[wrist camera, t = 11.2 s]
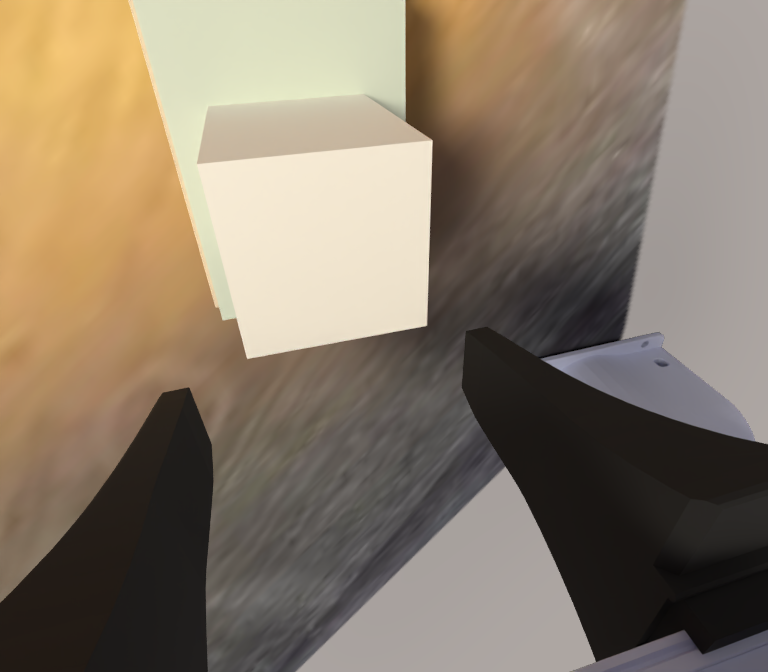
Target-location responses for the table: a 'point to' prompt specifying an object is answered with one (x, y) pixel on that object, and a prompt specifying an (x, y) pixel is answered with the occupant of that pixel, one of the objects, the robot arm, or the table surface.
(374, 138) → the cream block
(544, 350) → the table surface
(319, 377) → the table surface
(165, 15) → the sage top slab
